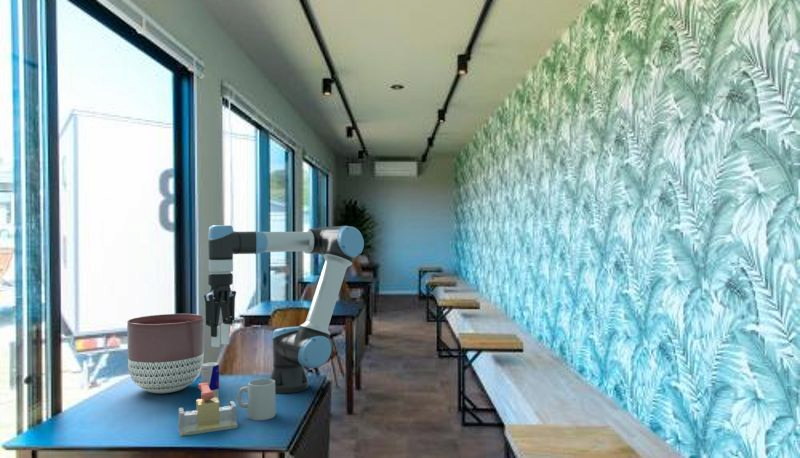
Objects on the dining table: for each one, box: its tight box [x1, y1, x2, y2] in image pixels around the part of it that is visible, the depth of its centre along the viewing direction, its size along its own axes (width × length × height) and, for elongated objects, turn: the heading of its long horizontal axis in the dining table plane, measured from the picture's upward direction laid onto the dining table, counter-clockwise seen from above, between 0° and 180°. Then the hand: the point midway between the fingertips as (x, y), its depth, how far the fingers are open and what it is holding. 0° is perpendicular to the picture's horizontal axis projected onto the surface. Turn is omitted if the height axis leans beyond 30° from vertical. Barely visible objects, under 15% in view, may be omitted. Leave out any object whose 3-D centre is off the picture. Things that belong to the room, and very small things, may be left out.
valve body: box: [177, 397, 238, 437], centre depth 166 cm, size 16×9×8 cm, turn 116°
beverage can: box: [200, 361, 220, 401], centre depth 185 cm, size 6×6×15 cm
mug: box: [237, 378, 276, 421], centre depth 176 cm, size 12×8×11 cm
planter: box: [126, 313, 205, 394], centre depth 206 cm, size 27×27×27 cm
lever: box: [198, 382, 214, 401], centre depth 171 cm, size 14×4×2 cm, turn 26°
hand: (220, 345), depth 177 cm, fingers open, 4 cm apart
